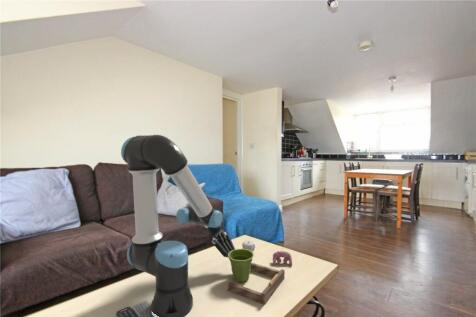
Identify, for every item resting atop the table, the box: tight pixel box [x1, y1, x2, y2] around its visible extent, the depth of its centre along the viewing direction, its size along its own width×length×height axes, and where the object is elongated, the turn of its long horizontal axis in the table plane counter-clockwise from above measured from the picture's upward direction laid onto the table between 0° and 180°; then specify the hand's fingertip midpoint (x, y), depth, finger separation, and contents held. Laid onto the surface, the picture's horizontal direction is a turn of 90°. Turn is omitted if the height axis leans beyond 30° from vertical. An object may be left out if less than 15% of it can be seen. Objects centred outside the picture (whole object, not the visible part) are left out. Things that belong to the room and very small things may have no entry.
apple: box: [241, 240, 256, 253], centre depth 132 cm, size 8×8×7 cm
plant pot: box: [227, 248, 255, 283], centre depth 106 cm, size 12×12×11 cm
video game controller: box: [272, 250, 293, 267], centre depth 120 cm, size 10×5×7 cm, turn 85°
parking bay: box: [227, 262, 285, 305], centre depth 101 cm, size 17×21×5 cm
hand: (238, 266), depth 110 cm, fingers closed
